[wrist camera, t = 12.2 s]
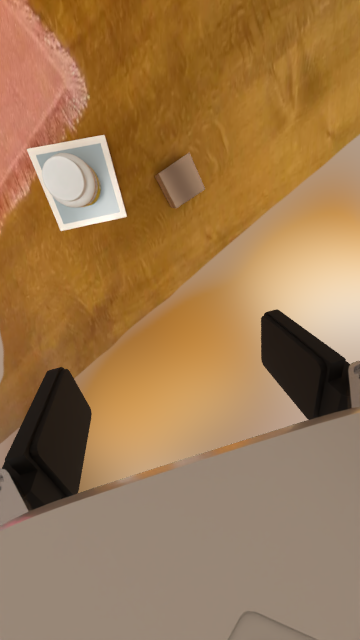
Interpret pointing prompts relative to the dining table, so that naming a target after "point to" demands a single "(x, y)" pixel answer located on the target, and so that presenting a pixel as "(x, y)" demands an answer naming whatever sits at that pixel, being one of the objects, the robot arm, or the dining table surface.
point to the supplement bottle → (71, 180)
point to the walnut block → (180, 181)
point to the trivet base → (100, 161)
